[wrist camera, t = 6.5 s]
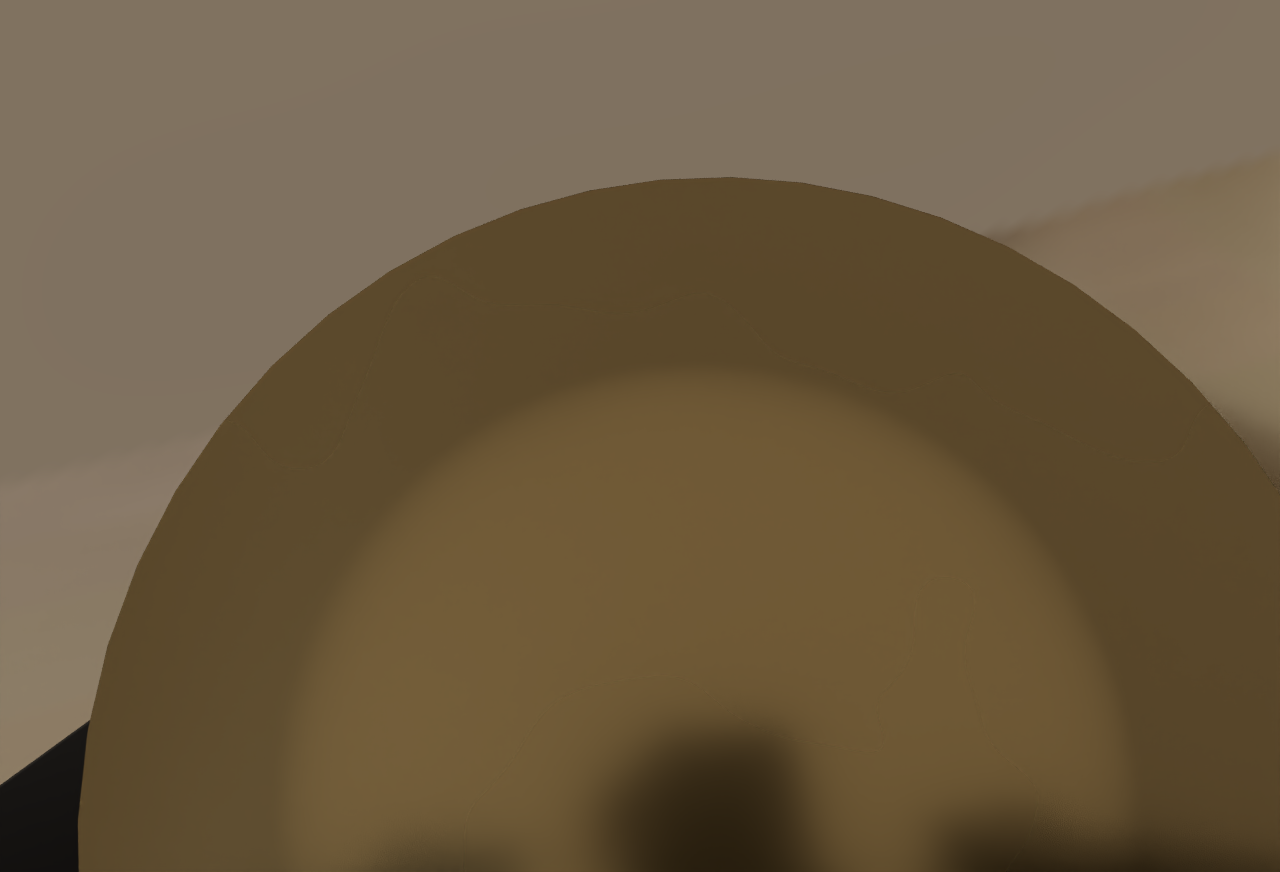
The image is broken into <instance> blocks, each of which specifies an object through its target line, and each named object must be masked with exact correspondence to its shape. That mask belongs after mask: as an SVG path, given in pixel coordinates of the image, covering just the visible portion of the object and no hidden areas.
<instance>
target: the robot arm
mask: <svg viewBox="0 0 1280 872" xmlns="http://www.w3.org/2000/svg"><path fill="white" fill-rule="evenodd" d="M89 723H90V720H89V721H88V722H87V723H85V724H84V725H83V726H81V727H80V728H78V729H77V730H76V731H74V732H73V733H71V734H70V735H69V736H67V737H66V738H65V739H63V740H62V741H60V742H59V743H58V744H56V745H55V746H54V747H52V748H51V749H49V750H48V751H47V752H45V753H44V754H43V755H41V756H40V757H38V758H37V759H36V760H34V761H33V762H31V763H30V764H29V765H27V766H26V767H25V768H23V769H22V770H20V771H19V772H18V773H16V774H15V775H14V776H12V777H11V778H9V779H8V780H7V781H5V782H4V783H3V784H1V785H0V872H79V854H78V816H79V807H80V797H81V788H82V779H83V770H84V760H85V751H86V742H87V733H88V727H89Z"/></svg>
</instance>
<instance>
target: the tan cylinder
mask: <svg viewBox="0 0 1280 872" xmlns="http://www.w3.org/2000/svg"><path fill="white" fill-rule="evenodd" d="M78 854H79V872H1280V494H1279V493H1278V491H1277V490H1276V488H1275V487H1274V485H1273V484H1272V482H1271V481H1270V480H1269V478H1268V477H1267V475H1266V474H1265V472H1264V471H1263V469H1262V468H1261V466H1260V465H1259V464H1258V462H1257V461H1256V459H1255V458H1254V456H1253V455H1252V453H1251V452H1250V451H1249V449H1248V448H1247V446H1246V445H1245V443H1244V442H1243V441H1242V440H1241V438H1240V437H1239V436H1238V435H1237V434H1236V433H1235V432H1234V430H1233V429H1232V428H1231V427H1230V426H1229V425H1228V424H1227V422H1226V421H1225V420H1224V419H1223V418H1222V417H1221V415H1220V414H1219V413H1218V412H1217V411H1216V410H1215V409H1214V407H1213V406H1212V405H1211V404H1210V403H1209V402H1208V401H1207V399H1206V398H1205V397H1204V396H1203V395H1202V394H1201V392H1200V391H1199V390H1198V389H1197V388H1196V387H1195V386H1194V384H1193V383H1192V382H1191V381H1190V380H1189V379H1188V378H1186V377H1185V376H1184V375H1183V374H1182V373H1181V372H1180V371H1179V370H1178V369H1177V368H1176V367H1175V366H1173V365H1172V364H1171V363H1170V362H1169V361H1168V360H1167V359H1166V358H1165V357H1164V356H1163V355H1161V354H1160V353H1159V352H1158V351H1157V350H1156V349H1155V348H1154V347H1153V346H1152V345H1151V344H1150V343H1148V342H1147V341H1146V340H1145V339H1144V338H1143V337H1142V336H1141V335H1140V334H1139V333H1138V332H1137V331H1135V330H1134V329H1133V328H1132V327H1130V326H1129V325H1128V324H1126V323H1125V322H1123V321H1122V320H1121V319H1119V318H1118V317H1117V316H1115V315H1114V314H1113V313H1111V312H1110V311H1109V310H1107V309H1106V308H1104V307H1103V306H1102V305H1100V304H1099V303H1098V302H1096V301H1095V300H1094V299H1092V298H1091V297H1089V296H1088V295H1087V294H1085V293H1084V292H1083V291H1081V290H1080V289H1079V288H1077V287H1076V286H1075V285H1073V284H1071V283H1070V282H1068V281H1066V280H1064V279H1063V278H1061V277H1059V276H1058V275H1056V274H1054V273H1052V272H1051V271H1049V270H1047V269H1045V268H1044V267H1042V266H1040V265H1039V264H1037V263H1035V262H1033V261H1032V260H1030V259H1028V258H1026V257H1025V256H1023V255H1021V254H1019V253H1018V252H1016V251H1014V250H1013V249H1011V248H1009V247H1007V246H1005V245H1002V244H1000V243H998V242H996V241H993V240H991V239H989V238H986V237H984V236H982V235H980V234H977V233H975V232H973V231H970V230H968V229H966V228H964V227H961V226H959V225H957V224H954V223H952V222H950V221H948V220H945V219H943V218H941V217H937V216H934V215H931V214H928V213H924V212H921V211H918V210H914V209H911V208H908V207H905V206H902V205H898V204H896V203H892V202H889V201H886V200H883V199H879V198H876V197H873V196H868V195H863V194H858V193H853V192H848V191H842V190H837V189H832V188H826V187H822V186H816V185H811V184H806V183H798V182H786V181H772V180H760V179H747V178H734V177H724V178H699V179H698V178H697V179H671V180H657V181H649V182H643V183H636V184H629V185H623V186H616V187H610V188H603V189H597V190H590V191H586V192H583V193H579V194H576V195H572V196H568V197H564V198H561V199H557V200H553V201H550V202H546V203H542V204H539V205H535V206H532V207H528V208H524V209H520V210H518V211H515V212H513V213H511V214H508V215H506V216H503V217H501V218H498V219H496V220H493V221H491V222H488V223H486V224H483V225H481V226H478V227H476V228H473V229H471V230H468V231H466V232H463V233H461V234H458V235H456V236H454V237H452V238H450V239H448V240H446V241H444V242H442V243H441V244H439V245H437V246H435V247H433V248H431V249H430V250H428V251H426V252H424V253H422V254H420V255H419V256H417V257H415V258H413V259H411V260H409V261H408V262H406V263H404V264H402V265H400V266H399V267H397V268H395V269H393V270H391V271H389V272H388V273H387V274H385V275H384V276H382V277H381V278H379V279H378V280H377V281H375V282H374V283H372V284H371V285H370V286H368V287H367V288H365V289H364V290H363V291H361V292H360V293H358V294H357V295H356V296H354V297H353V298H351V299H350V300H348V301H347V302H346V303H344V304H343V305H341V306H340V307H339V308H337V309H336V310H334V311H333V312H332V313H330V314H329V315H328V316H327V317H325V318H324V319H323V320H322V321H321V322H320V323H319V324H318V325H317V326H315V327H314V328H313V329H312V330H311V331H310V332H309V333H308V334H307V335H306V336H304V337H303V338H302V339H301V340H300V341H299V342H298V343H297V344H296V345H294V346H293V347H292V348H291V349H290V350H289V351H288V352H287V353H286V354H285V355H284V356H282V357H281V358H280V359H279V360H278V361H277V362H276V363H275V364H274V365H272V367H271V368H270V369H269V370H268V371H267V372H266V373H265V374H264V376H263V377H262V378H261V379H260V380H259V381H258V383H257V384H256V385H255V386H254V387H253V388H252V389H251V391H250V392H249V393H248V394H247V395H246V396H245V397H244V399H243V400H242V401H241V402H240V403H239V404H238V406H237V407H236V408H235V409H234V410H233V411H232V412H231V414H230V415H229V416H228V417H227V418H226V419H225V420H224V422H223V423H222V424H221V425H220V427H219V428H218V430H217V431H216V432H215V434H214V435H213V437H212V438H211V440H210V441H209V443H208V444H207V446H206V447H205V449H204V450H203V452H202V453H201V455H200V456H199V457H198V459H197V460H196V462H195V463H194V465H193V466H192V468H191V469H190V471H189V472H188V474H187V475H186V477H185V478H184V480H183V481H182V483H181V484H180V485H179V487H178V488H177V490H176V491H175V493H174V495H173V497H172V499H171V501H170V503H169V505H168V507H167V509H166V511H165V513H164V515H163V517H162V519H161V520H160V522H159V524H158V526H157V528H156V530H155V532H154V534H153V536H152V538H151V540H150V542H149V544H148V546H147V548H146V550H145V552H144V553H143V555H142V557H141V559H140V561H139V563H138V565H137V568H136V571H135V573H134V576H133V579H132V581H131V584H130V587H129V590H128V592H127V595H126V598H125V600H124V603H123V606H122V608H121V611H120V614H119V617H118V619H117V622H116V625H115V627H114V630H113V633H112V635H111V638H110V641H109V644H108V647H107V651H106V655H105V660H104V664H103V668H102V672H101V677H100V681H99V685H98V689H97V694H96V698H95V702H94V706H93V711H92V715H91V719H90V723H89V727H88V733H87V742H86V751H85V760H84V770H83V779H82V788H81V797H80V807H79V816H78Z"/></svg>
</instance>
